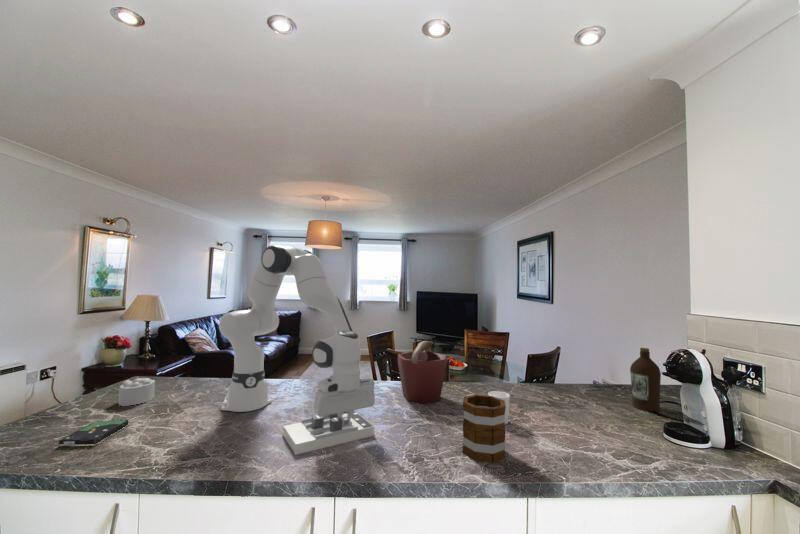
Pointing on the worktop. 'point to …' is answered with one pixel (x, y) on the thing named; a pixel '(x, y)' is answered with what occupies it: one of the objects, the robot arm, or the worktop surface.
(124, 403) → the lumpy-topped squat cylinder
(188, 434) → the worktop surface
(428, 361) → the bucket
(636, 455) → the worktop surface
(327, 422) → the switch bank
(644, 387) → the olive oil
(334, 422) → the tab
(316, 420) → the middle tab
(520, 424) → the worktop surface
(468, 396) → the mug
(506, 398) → the white cup
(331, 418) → the tab
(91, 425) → the disk drive
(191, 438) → the worktop surface
